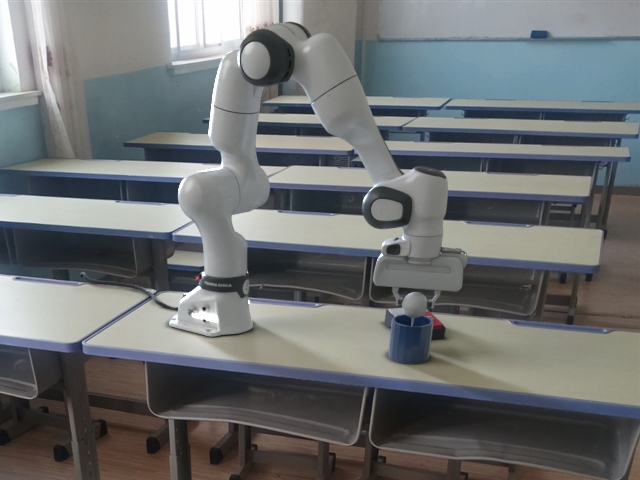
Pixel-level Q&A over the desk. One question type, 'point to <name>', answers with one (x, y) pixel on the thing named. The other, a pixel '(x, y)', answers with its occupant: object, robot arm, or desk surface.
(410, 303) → the lollipop
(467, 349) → the desk surface
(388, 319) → the calculator
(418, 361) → the cup
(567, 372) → the desk surface
